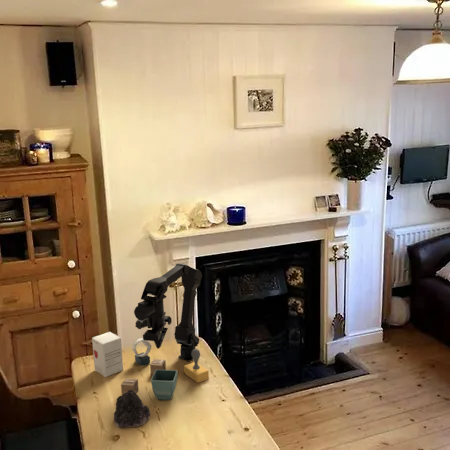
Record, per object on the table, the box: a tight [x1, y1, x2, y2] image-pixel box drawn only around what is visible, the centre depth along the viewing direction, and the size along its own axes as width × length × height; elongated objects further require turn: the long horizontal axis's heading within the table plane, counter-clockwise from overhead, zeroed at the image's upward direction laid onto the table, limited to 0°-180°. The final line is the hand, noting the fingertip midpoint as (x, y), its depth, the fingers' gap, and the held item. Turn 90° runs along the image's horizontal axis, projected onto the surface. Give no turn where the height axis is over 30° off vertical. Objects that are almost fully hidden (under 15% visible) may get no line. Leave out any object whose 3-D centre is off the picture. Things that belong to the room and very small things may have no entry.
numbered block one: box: [120, 377, 140, 396], centre depth 221 cm, size 5×5×5 cm
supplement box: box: [91, 331, 124, 378], centre depth 239 cm, size 9×9×15 cm
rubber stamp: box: [183, 348, 210, 383], centre depth 233 cm, size 10×6×12 cm, turn 36°
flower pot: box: [150, 369, 179, 401], centre depth 218 cm, size 9×9×9 cm
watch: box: [132, 337, 152, 367], centre depth 245 cm, size 6×8×11 cm
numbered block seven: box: [149, 358, 167, 377], centre depth 236 cm, size 5×5×5 cm
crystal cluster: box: [113, 390, 151, 428], centre depth 204 cm, size 13×14×10 cm
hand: (158, 347), depth 231 cm, fingers closed
